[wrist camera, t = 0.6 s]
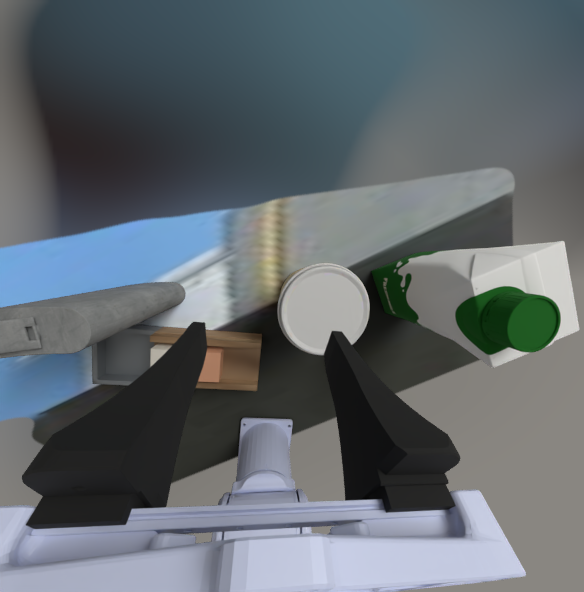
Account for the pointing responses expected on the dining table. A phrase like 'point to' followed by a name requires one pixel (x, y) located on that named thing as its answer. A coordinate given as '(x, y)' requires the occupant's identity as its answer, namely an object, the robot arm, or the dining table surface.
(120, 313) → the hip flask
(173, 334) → the board
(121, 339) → the tray
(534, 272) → the milk carton
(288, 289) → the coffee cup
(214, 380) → the tile
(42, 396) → the dining table surface
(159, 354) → the tile
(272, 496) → the robot arm
